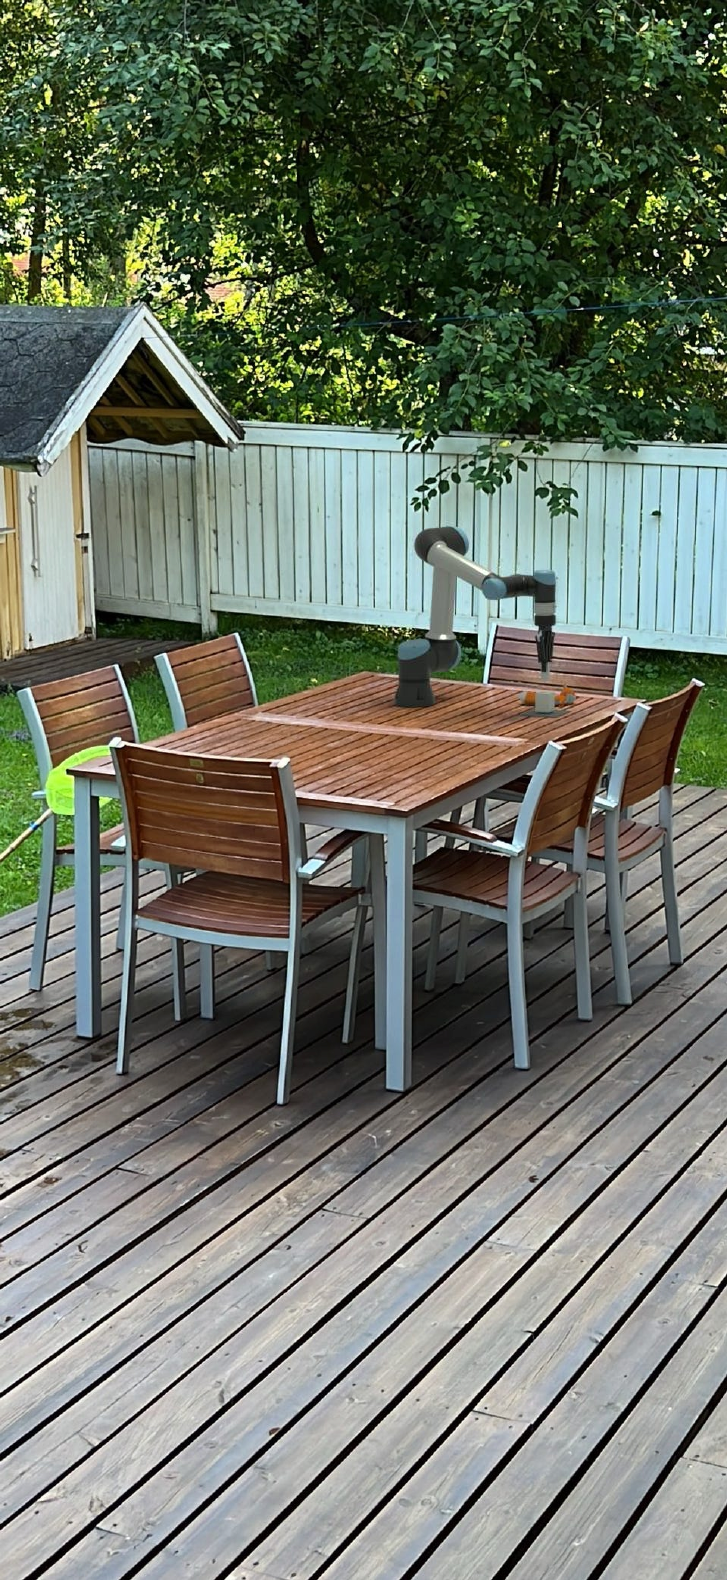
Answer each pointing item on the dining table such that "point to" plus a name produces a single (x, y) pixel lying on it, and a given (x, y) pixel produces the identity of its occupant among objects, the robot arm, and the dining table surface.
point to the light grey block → (544, 701)
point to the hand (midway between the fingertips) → (545, 680)
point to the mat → (552, 714)
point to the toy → (564, 698)
